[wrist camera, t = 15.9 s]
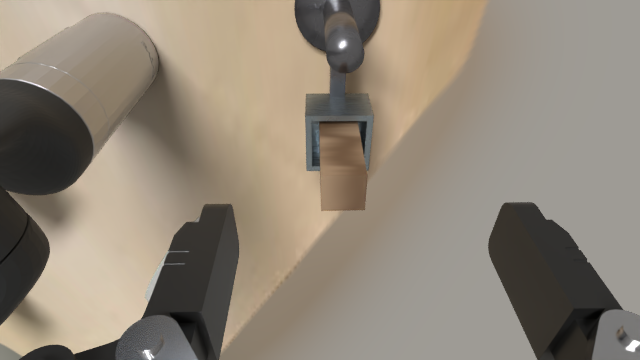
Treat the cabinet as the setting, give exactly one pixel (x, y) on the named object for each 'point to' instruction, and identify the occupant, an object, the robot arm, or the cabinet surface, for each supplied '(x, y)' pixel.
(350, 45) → the cup bracket
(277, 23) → the cabinet surface
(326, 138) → the rail post
